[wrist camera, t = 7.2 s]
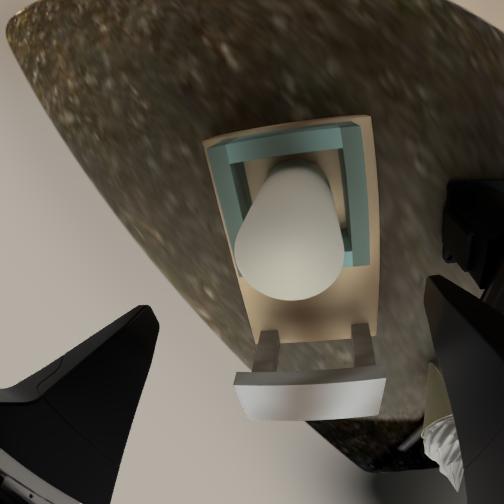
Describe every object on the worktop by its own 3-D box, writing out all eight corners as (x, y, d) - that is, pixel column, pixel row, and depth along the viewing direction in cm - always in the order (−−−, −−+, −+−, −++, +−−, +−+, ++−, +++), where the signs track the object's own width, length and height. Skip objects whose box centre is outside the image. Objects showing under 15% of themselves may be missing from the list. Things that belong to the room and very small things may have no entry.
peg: (325, 154, 16) (339, 196, 9) (333, 217, 18) (346, 296, 11) (258, 163, 17) (222, 211, 10) (270, 224, 19) (246, 303, 12)
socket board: (364, 114, 16) (416, 131, 8) (372, 319, 24) (388, 413, 16) (211, 136, 19) (141, 172, 11) (259, 327, 26) (238, 419, 18)
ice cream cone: (421, 383, 27) (440, 503, 14) (400, 366, 26) (418, 502, 13) (457, 359, 25) (491, 481, 12) (439, 339, 24) (478, 478, 11)
